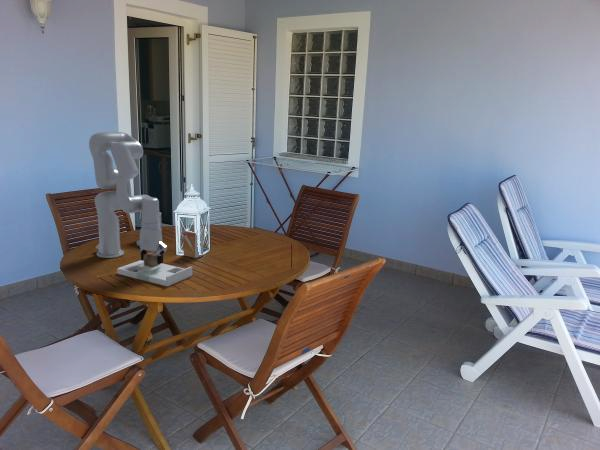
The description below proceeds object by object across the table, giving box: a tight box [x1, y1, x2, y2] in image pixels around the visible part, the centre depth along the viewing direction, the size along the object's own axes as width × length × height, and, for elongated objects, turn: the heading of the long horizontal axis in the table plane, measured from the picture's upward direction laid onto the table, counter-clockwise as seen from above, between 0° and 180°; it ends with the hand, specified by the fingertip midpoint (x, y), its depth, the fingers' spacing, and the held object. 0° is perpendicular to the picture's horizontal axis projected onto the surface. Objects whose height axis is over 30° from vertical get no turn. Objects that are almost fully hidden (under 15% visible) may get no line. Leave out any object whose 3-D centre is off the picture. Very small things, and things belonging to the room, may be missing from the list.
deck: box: [116, 259, 193, 287], centre depth 216 cm, size 29×16×4 cm, turn 63°
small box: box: [182, 230, 204, 259], centre depth 245 cm, size 8×6×13 cm
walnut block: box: [144, 251, 160, 267], centre depth 222 cm, size 5×5×5 cm
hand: (152, 261), depth 222 cm, fingers open, 9 cm apart
